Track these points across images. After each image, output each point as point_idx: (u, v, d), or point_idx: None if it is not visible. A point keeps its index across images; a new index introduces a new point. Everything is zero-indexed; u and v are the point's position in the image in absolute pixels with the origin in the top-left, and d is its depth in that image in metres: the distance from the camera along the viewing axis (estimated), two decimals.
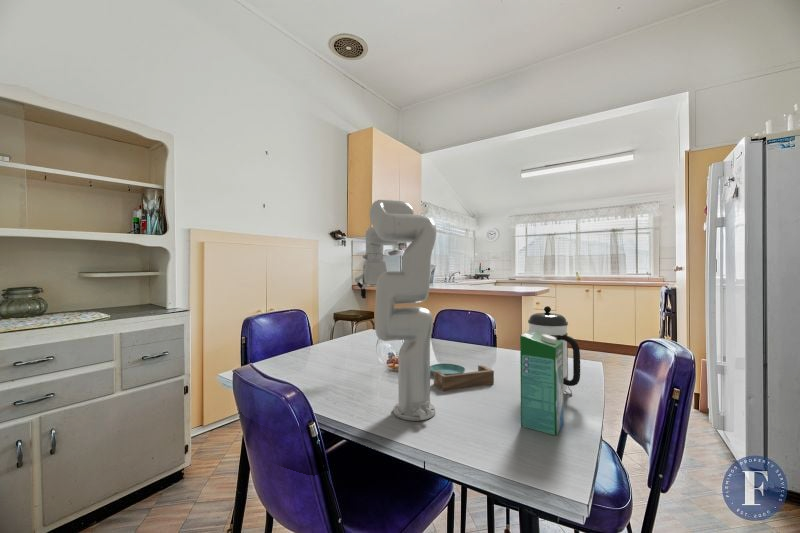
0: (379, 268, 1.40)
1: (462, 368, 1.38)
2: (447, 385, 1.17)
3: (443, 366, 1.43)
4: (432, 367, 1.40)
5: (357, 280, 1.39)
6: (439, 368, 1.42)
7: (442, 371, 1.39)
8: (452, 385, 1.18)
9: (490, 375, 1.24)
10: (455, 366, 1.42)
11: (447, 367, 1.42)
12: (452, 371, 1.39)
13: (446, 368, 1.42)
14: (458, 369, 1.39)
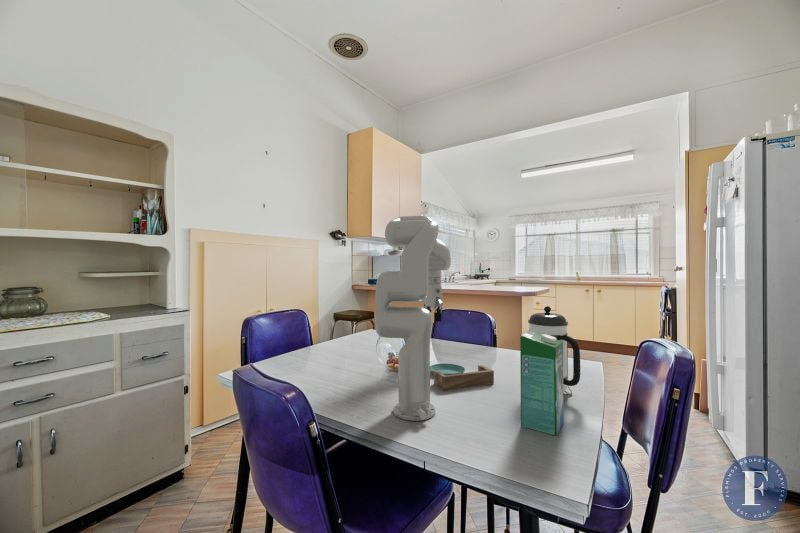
0: None
1: (462, 368, 1.38)
2: (447, 385, 1.17)
3: (443, 366, 1.43)
4: (432, 367, 1.40)
5: None
6: (439, 368, 1.42)
7: (442, 371, 1.39)
8: (452, 385, 1.18)
9: (490, 375, 1.24)
10: (455, 366, 1.42)
11: (447, 367, 1.42)
12: (452, 371, 1.39)
13: (446, 368, 1.42)
14: (458, 369, 1.39)
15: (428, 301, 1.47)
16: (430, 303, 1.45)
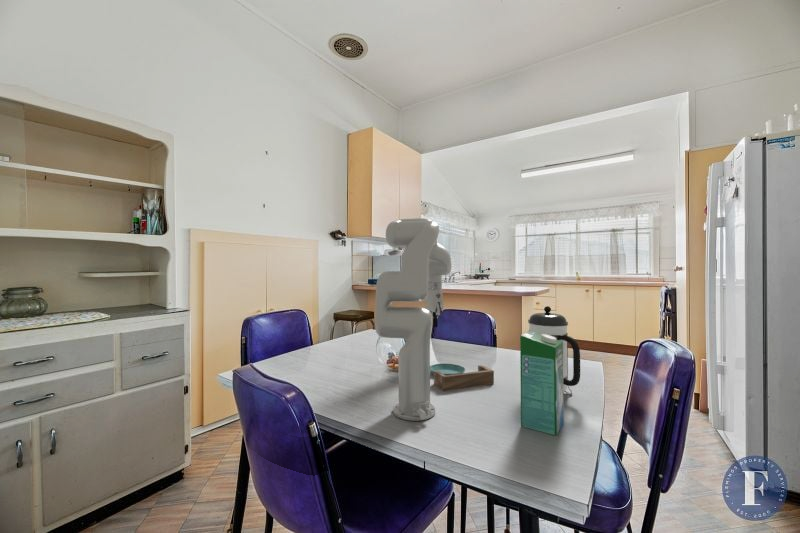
0: None
1: (462, 368, 1.38)
2: (447, 385, 1.17)
3: (443, 366, 1.43)
4: (432, 367, 1.40)
5: None
6: (439, 368, 1.42)
7: (442, 371, 1.39)
8: (452, 385, 1.18)
9: (490, 375, 1.24)
10: (455, 366, 1.42)
11: (447, 367, 1.42)
12: (452, 371, 1.39)
13: (446, 368, 1.42)
14: (458, 369, 1.39)
15: (428, 305, 1.48)
16: (431, 308, 1.45)
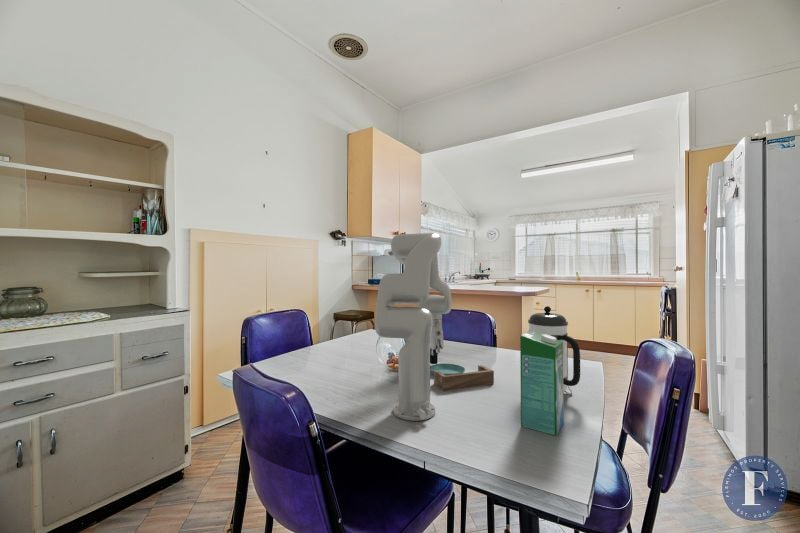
0: None
1: (462, 368, 1.38)
2: (447, 385, 1.17)
3: (443, 366, 1.43)
4: (432, 367, 1.40)
5: None
6: (439, 368, 1.42)
7: (442, 371, 1.39)
8: (452, 385, 1.18)
9: (490, 375, 1.24)
10: (455, 366, 1.42)
11: (447, 367, 1.42)
12: (452, 371, 1.39)
13: (446, 368, 1.42)
14: (458, 369, 1.39)
15: None
16: (431, 345, 1.45)
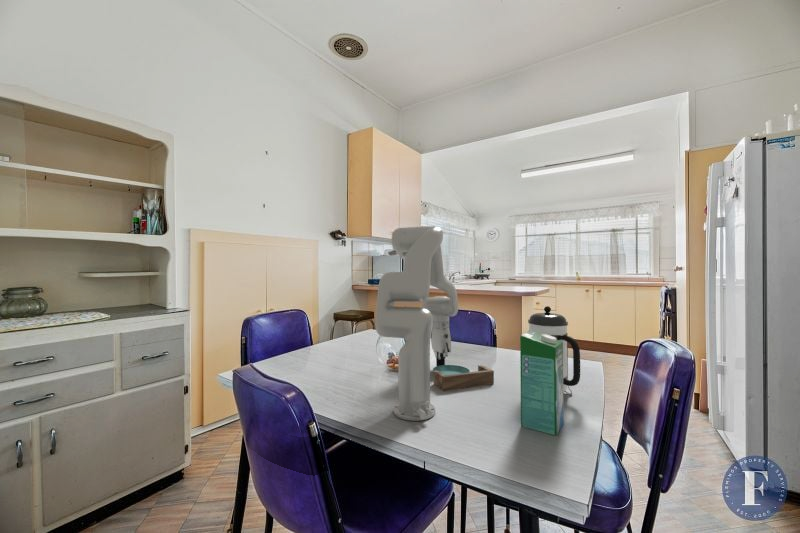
0: None
1: (466, 370, 1.35)
2: (447, 385, 1.17)
3: (447, 367, 1.40)
4: (436, 368, 1.37)
5: None
6: (443, 369, 1.39)
7: (446, 373, 1.36)
8: (452, 385, 1.18)
9: (490, 375, 1.24)
10: (459, 367, 1.39)
11: (451, 369, 1.39)
12: (456, 373, 1.36)
13: (450, 369, 1.39)
14: (463, 371, 1.36)
15: (435, 346, 1.41)
16: (438, 349, 1.39)
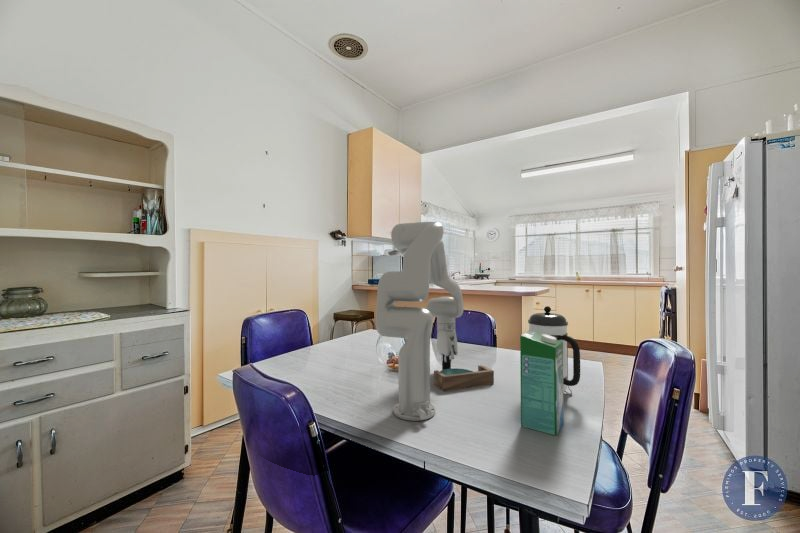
0: None
1: None
2: (447, 385, 1.17)
3: (453, 371, 1.35)
4: (442, 372, 1.33)
5: None
6: (449, 373, 1.34)
7: None
8: (452, 385, 1.18)
9: (490, 375, 1.24)
10: (466, 371, 1.34)
11: (457, 373, 1.35)
12: None
13: (457, 373, 1.35)
14: None
15: (441, 348, 1.36)
16: (444, 351, 1.34)
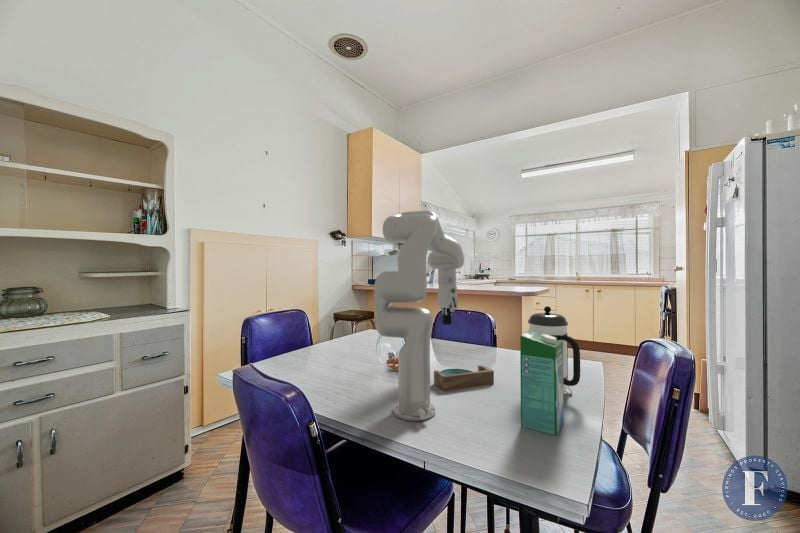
0: None
1: None
2: (447, 385, 1.17)
3: (454, 371, 1.35)
4: (442, 372, 1.33)
5: None
6: (449, 373, 1.34)
7: None
8: (452, 385, 1.18)
9: (490, 375, 1.24)
10: (466, 371, 1.34)
11: (457, 373, 1.35)
12: None
13: (457, 373, 1.35)
14: None
15: (442, 301, 1.40)
16: (445, 304, 1.38)
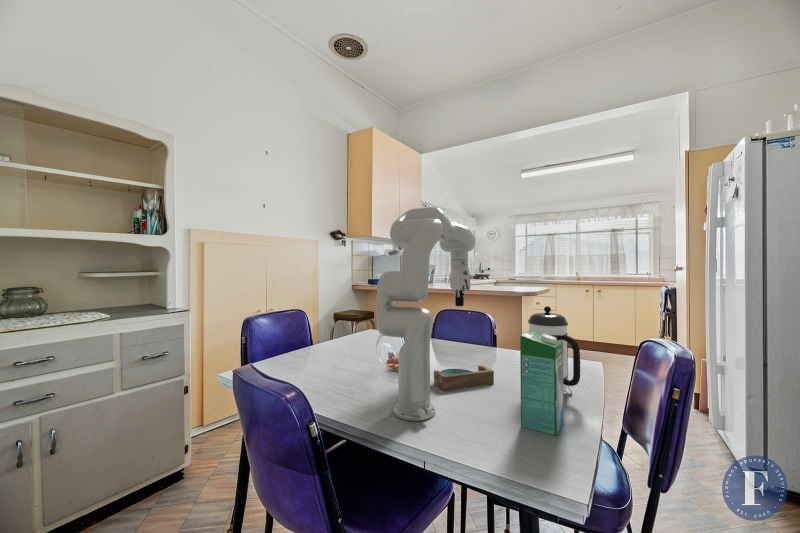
0: None
1: None
2: (447, 385, 1.17)
3: (454, 371, 1.35)
4: (442, 372, 1.33)
5: None
6: (449, 373, 1.34)
7: None
8: (452, 385, 1.18)
9: (490, 375, 1.24)
10: (466, 371, 1.34)
11: (457, 373, 1.35)
12: None
13: (457, 373, 1.35)
14: None
15: (454, 284, 1.44)
16: (458, 286, 1.41)
